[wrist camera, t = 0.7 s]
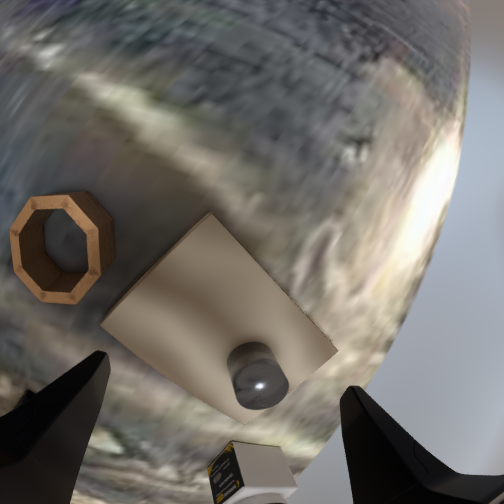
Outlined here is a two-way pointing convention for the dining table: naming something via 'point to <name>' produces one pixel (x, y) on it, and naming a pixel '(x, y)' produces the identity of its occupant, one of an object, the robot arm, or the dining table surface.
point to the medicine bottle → (251, 475)
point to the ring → (41, 265)
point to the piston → (256, 376)
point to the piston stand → (213, 318)
